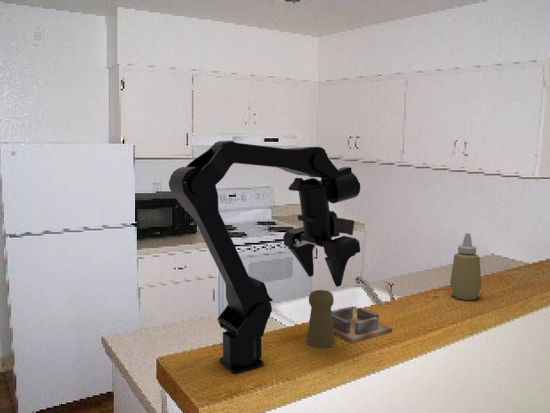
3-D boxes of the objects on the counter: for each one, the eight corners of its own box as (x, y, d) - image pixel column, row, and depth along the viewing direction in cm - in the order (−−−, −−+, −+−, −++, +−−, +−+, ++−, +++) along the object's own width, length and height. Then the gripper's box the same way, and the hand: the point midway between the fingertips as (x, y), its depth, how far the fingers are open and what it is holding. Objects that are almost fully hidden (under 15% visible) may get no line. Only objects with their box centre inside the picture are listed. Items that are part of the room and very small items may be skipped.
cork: (300, 341, 98) (300, 291, 97) (320, 334, 102) (321, 285, 100) (321, 350, 93) (321, 297, 92) (341, 342, 97) (341, 291, 96)
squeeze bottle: (471, 304, 122) (474, 237, 120) (443, 297, 129) (446, 233, 127) (486, 298, 127) (489, 233, 126) (459, 291, 134) (461, 230, 132)
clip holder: (351, 343, 97) (351, 328, 96) (316, 325, 107) (316, 312, 106) (392, 331, 103) (392, 317, 103) (355, 316, 113) (355, 303, 113)
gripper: (376, 203, 90) (384, 279, 93) (318, 197, 105) (326, 261, 108) (332, 217, 84) (342, 296, 87) (277, 207, 100) (287, 275, 103)
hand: (324, 280), depth 96 cm, fingers open, 9 cm apart
